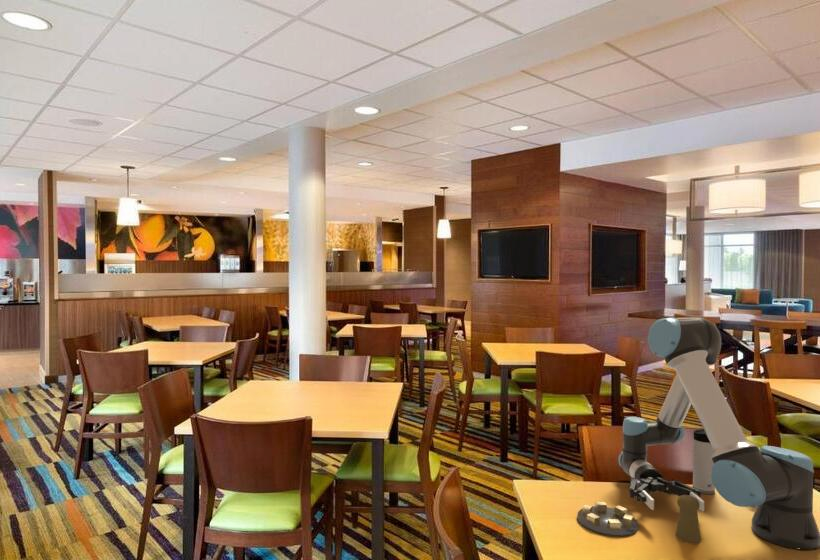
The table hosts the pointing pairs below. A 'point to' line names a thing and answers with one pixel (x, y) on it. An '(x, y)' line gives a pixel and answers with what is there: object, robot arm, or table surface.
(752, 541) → the table surface
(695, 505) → the cork
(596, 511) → the ring holder
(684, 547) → the table surface
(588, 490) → the table surface
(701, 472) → the travel mug
